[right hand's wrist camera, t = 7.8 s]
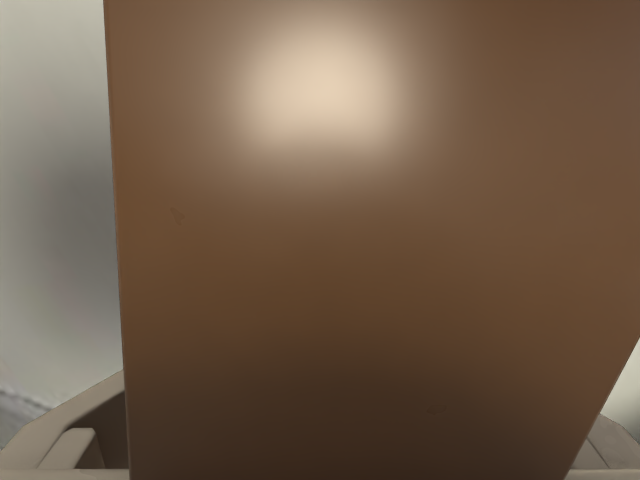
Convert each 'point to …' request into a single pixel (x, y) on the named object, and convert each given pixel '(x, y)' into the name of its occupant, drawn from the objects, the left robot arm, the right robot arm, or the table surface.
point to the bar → (372, 233)
